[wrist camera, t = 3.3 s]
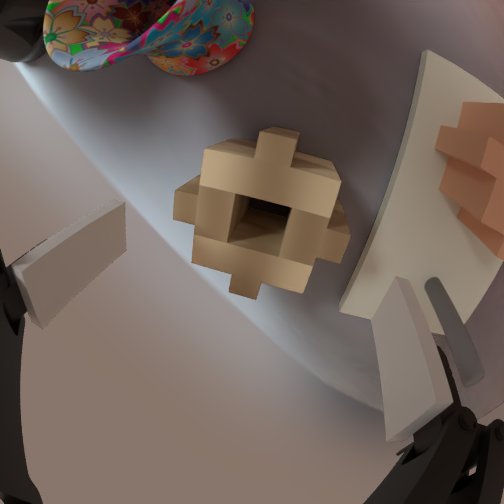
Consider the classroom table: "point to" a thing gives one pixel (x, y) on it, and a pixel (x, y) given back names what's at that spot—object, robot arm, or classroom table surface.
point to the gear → (263, 212)
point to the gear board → (440, 209)
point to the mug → (147, 32)
